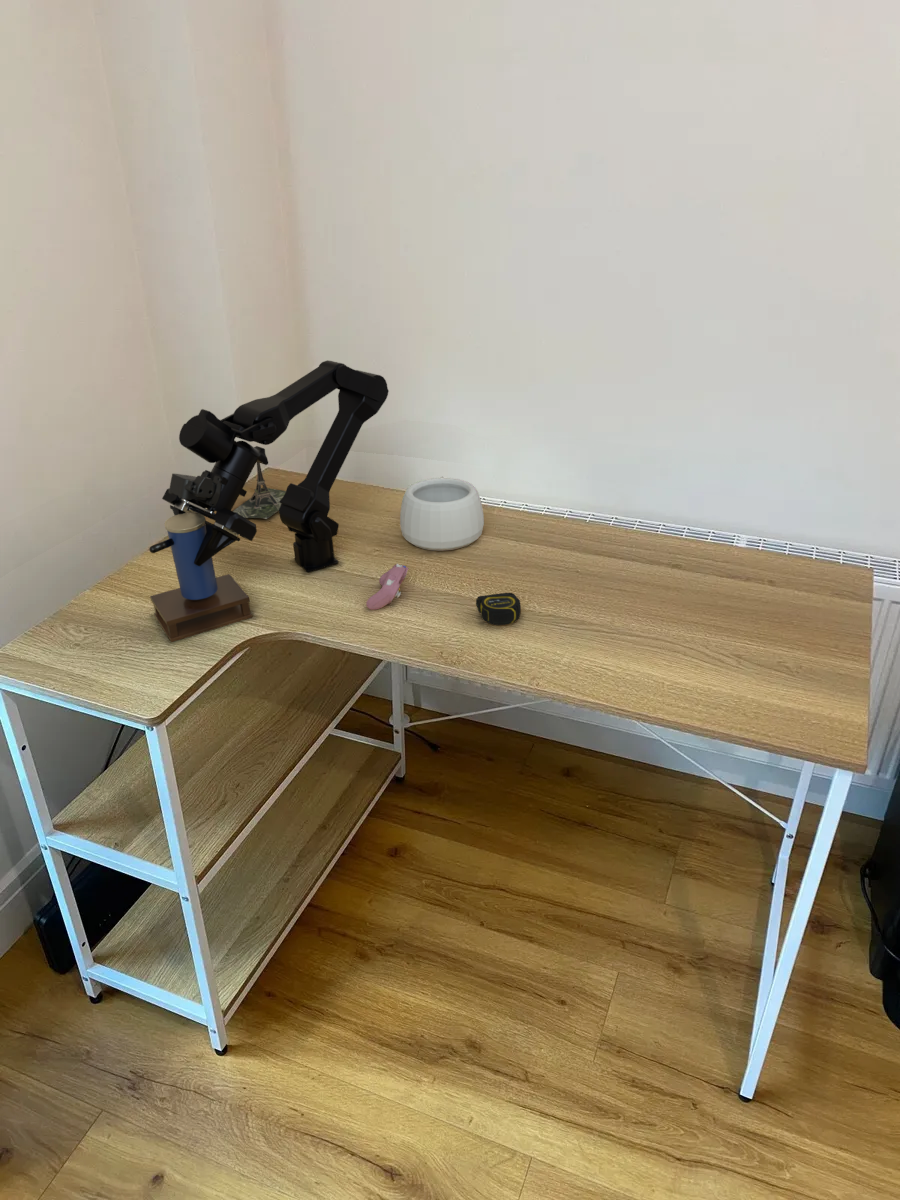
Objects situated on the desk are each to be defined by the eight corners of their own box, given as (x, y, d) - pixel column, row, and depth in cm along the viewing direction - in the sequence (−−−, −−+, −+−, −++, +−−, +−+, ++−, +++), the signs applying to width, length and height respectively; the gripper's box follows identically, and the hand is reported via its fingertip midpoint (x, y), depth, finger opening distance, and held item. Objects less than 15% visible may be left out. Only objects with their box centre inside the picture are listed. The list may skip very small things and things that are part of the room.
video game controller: (386, 620, 148) (402, 590, 144) (363, 608, 147) (378, 577, 144) (401, 592, 156) (416, 563, 152) (378, 580, 156) (393, 551, 152)
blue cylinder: (204, 577, 149) (190, 509, 142) (226, 589, 145) (213, 519, 138) (152, 601, 142) (135, 531, 136) (174, 614, 138) (158, 542, 132)
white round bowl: (484, 554, 165) (484, 506, 160) (398, 555, 165) (395, 508, 160) (482, 508, 183) (482, 464, 178) (404, 510, 184) (402, 466, 179)
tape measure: (514, 607, 147) (515, 588, 146) (524, 627, 142) (525, 608, 140) (475, 611, 146) (475, 592, 145) (484, 632, 141) (484, 612, 139)
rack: (232, 593, 154) (229, 573, 152) (252, 617, 147) (249, 597, 145) (154, 616, 148) (149, 596, 146) (171, 642, 140) (166, 621, 138)
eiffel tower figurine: (267, 522, 180) (259, 461, 173) (226, 516, 183) (216, 456, 177) (302, 495, 192) (296, 437, 185) (263, 489, 195) (255, 433, 189)
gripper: (160, 440, 141) (115, 524, 139) (229, 466, 130) (181, 557, 129) (209, 470, 150) (167, 550, 148) (277, 497, 139) (232, 582, 138)
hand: (185, 559), depth 141 cm, fingers closed on blue cylinder, 6 cm apart
